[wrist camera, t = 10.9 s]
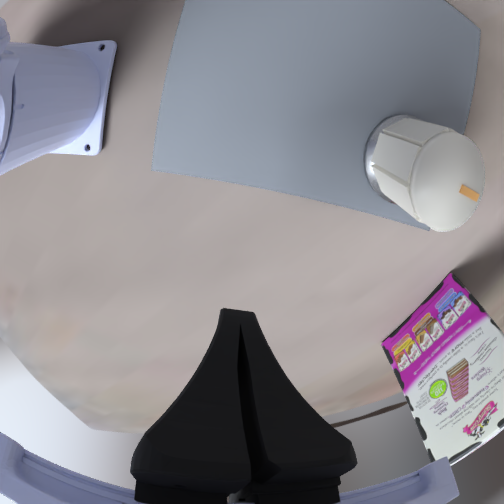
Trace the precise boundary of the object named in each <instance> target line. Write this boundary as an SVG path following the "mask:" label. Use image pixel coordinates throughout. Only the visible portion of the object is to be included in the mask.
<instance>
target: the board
mask: <svg viewBox="0 0 504 504" xmlns="http://www.w3.org/2000/svg"><path fill="white" fill-rule="evenodd" d="M480 32H481V30H480V29H479V28H478V27H477V26H476V25H475V24H473V23H472V22H471V21H470V20H469V19H468V18H466V17H465V16H464V15H463V14H461V13H460V12H459V11H458V10H456V9H455V8H454V7H452V6H451V5H450V4H448V3H447V2H446V1H444V0H186V1H185V4H184V7H183V10H182V14H181V17H180V20H179V24H178V27H177V31H176V35H175V39H174V43H173V47H172V51H171V55H170V59H169V63H168V68H167V73H166V77H165V82H164V87H163V93H162V98H161V104H160V109H159V115H158V122H157V128H156V135H155V143H154V151H153V159H152V168H151V171H159V172H166V173H173V174H180V175H187V176H194V177H200V178H206V179H212V180H218V181H224V182H230V183H235V184H241V185H246V186H251V187H257V188H262V189H267V190H272V191H276V192H281V193H286V194H291V195H295V196H300V197H304V198H309V199H313V200H317V201H321V202H326V203H330V204H334V205H338V206H342V207H346V208H350V209H354V210H358V211H361V212H365V213H369V214H373V215H376V216H380V217H383V218H387V219H391V220H394V221H397V222H401V223H404V224H408V225H411V226H414V227H418V228H421V229H424V230H427V231H429V230H430V227H428V226H427V225H426V224H424V223H421V222H418V221H417V220H416V219H414V218H413V217H412V216H411V215H410V214H408V213H407V212H406V211H405V210H404V209H402V208H401V207H400V206H399V205H396V204H392V203H390V202H387V201H386V200H384V199H383V198H381V197H380V196H379V195H378V194H377V193H376V192H375V191H374V190H373V189H372V187H371V186H370V184H369V182H368V180H367V178H366V175H365V171H364V164H363V156H364V149H365V145H366V142H367V139H368V137H369V135H370V133H371V132H372V130H373V129H374V128H375V127H376V126H377V124H379V123H380V122H381V121H382V120H384V119H385V118H387V117H390V116H392V115H397V114H406V115H411V116H415V117H417V118H420V119H421V120H423V121H425V122H429V123H433V124H437V125H441V126H444V127H448V128H451V129H453V130H454V131H456V132H457V133H459V134H462V135H464V131H465V127H466V123H467V119H468V115H469V110H470V106H471V101H472V96H473V90H474V85H475V79H476V72H477V65H478V56H479V46H480Z"/></svg>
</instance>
